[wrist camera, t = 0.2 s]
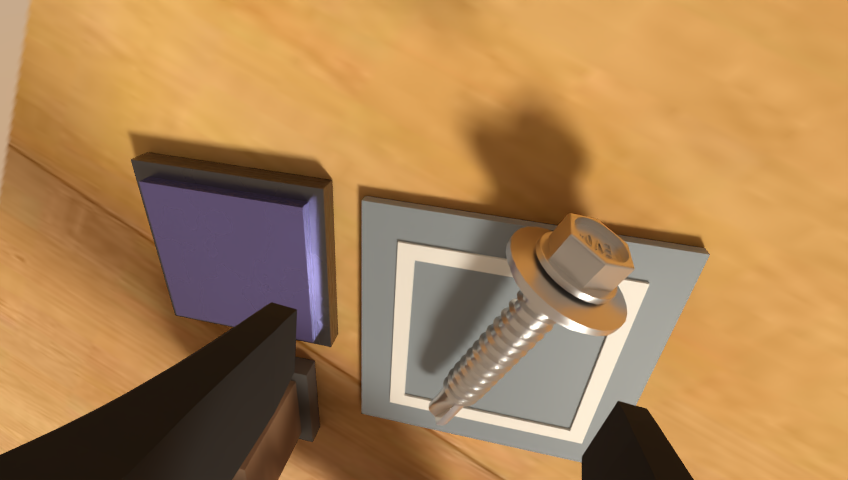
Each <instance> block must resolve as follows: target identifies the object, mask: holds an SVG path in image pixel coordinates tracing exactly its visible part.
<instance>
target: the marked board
mask: <svg viewBox="0 0 848 480" xmlns="http://www.w3.org/2000/svg"><path fill="white" fill-rule="evenodd" d="M557 226H558V225H552V224H545V223H539V222H532V221H526V220H519V219H513V218H507V217H500V216H494V215H487V214H481V213H474V212H468V211H461V210H455V209H448V208H442V207H435V206H429V205H422V204H416V203H409V202H403V201H396V200H390V199H383V198H377V197H370V196H365V197H364V198H363V199H362V414H366V415H370V416H375V417H379V418H384V419H388V420H393V421H397V422H402V423H406V424H411V425H415V426H420V427H424V428H429V429H433V430H438V431H442V432H447V433H451V434H456V435H460V436H465V437H469V438H474V439H479V440H483V441H488V442H492V443H497V444H501V445H506V446H510V447H515V448H519V449H524V450H528V451H533V452H537V453H542V454H546V455H551V456H555V457H560V458H564V459H569V460H573V461H578V462H582V455H583V454H584V452H585V451H586V449H587V448H588V446H589V445H590V443H591V441H592V440H593V438H594V437H595V435H596V434H597V432H598V431H599V429H600V428H601V426H602V425H603V423H604V422H605V420H606V418H607V417H608V415H609V414H610V412H611V411H612V409H613V408H614V406H615V405H616V403H617V402H618V401H621V402H625V403H628V404H632V405H635V406H636V404H637V402H638V400H639V398H640V396H641V394H642V392H643V390H644V388H645V386H646V384H647V381H648V379H649V377H650V375H651V373H652V371H653V369H654V367H655V365H656V363H657V361H658V359H659V357H660V355H661V353H662V351H663V349H664V347H665V345H666V343H667V341H668V339H669V337H670V335H671V333H672V331H673V329H674V327H675V325H676V322H677V320H678V318H679V316H680V314H681V312H682V310H683V308H684V306H685V304H686V302H687V300H688V298H689V296H690V294H691V292H692V290H693V288H694V286H695V284H696V282H697V280H698V278H699V276H700V274H701V272H702V270H703V268H704V266H705V263H706V261H707V259H708V257H709V255H710V254H709V253H708V251H707V250H706V249H705V248H701V247H695V246H688V245H682V244H675V243H669V242H662V241H656V240H649V239H643V238H636V237H630V236H623V235H617V234H616V235H617V236H619V237H620V238H621V239H622V240H623V241H624V242H626V243H627V244H628V247H629V250H630V254H631V257H632V261H633V264H634V268H635V269H634V271H633V272H632V273H631V274H629V275H628V276H627V277H626V278H625V279H624V280H623V281H622V282H621V283H620V284H619V285H618V286H619V288H620V290H621V292H622V294H623V296H624V299H625V302H626V305H627V318H626V321H625V323H624V324H623V325H622V326H621V327H620V328H619V329H618V330H617V331H616V332H614V333H612V334H610V335H607V336H593V335H588V334H584V333H580V332H577V331H573V330H570V329H568V328H566V327H564V326H562V325H559V324H557V323H556V324H554V326H553V328H552V330H551V331H549V332H547V333H545V335H544V337H543V339H541V340H540V341H538V342H536V345H535V346H534V347H533V348H532V349H530V350H528V352H527V354H526V355H525V356H524V357H522V358H520V360H519V362H518V363H517V364H515V365H513V367H512V369H511V370H510V371H509V372H507V373H505V375H504V377H503V378H501V379H500V380H498V382H497V383H496V384H495V385H494V386H493V387H491V389H490V390H489V391H488V392H487V393H485V395H484V396H483V397H482V398H481V399H480V400H477V402H476V403H475V404H473V405H471V406H464V407H463V408H462V409H461V410H460V411H459V412H458V413H457V414H456V415H455V416H454V417H453V418H452V419H451V420H450V421H449V422H448V423H447V424H445V425H442V426H441V425H436V422H435V416H433V415H432V414H431V412H430V411H429V403H430V402H431V401H432V399H433V398H434V397H435V396H436V395H437V394H438V393H439V392H440V390H441V389H442V388H443V382H444V379H445V378H446V377H447V376H448V373H449V371H450V370H451V369H452V368H454V366H455V364H456V363H457V362H458V361H460V359H461V357H462V356H463V355H465V354H466V352H467V350H468V349H469V348H471V347H473V343H474V342H475V341H476V340H479V337H480V335H481V334H482V333H484V332H486V329H487V327H488V326H489V325H491V324H493V321H494V319H495V318H496V317H497V316H501V311H502V310H503V309H504V308H506V307H509V302H510V300H512V299H515V298H517V293H518V291H519V290H520V288H519V287H518V285H517V284H516V282H515V280H514V278H513V276H512V274H511V271H510V267H509V265H508V263H507V257H506V246H507V243H508V241H509V239H510V238H511V236H512V235H513V234H514V233H515V232H516V231H517V230H519V229H520V228H524V227H540V228H544V229H548V230H551V231H554V230H555V228H556V227H557Z"/></svg>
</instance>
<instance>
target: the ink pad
mask: <svg viewBox="0 0 848 480" xmlns="http://www.w3.org/2000/svg"><path fill="white" fill-rule="evenodd" d="M131 162H132V166H133V169H134V173H135V176H136V180H137V183H138V187H139V190H140V194H141V197H142V201H143V204H144V208H145V211H146V215H147V218H148V221H149V225H150V228H151V232H152V235H153V239H154V242H155V246H156V249H157V253H158V256H159V260H160V263H161V267H162V270H163V274H164V277H165V281H166V284H167V288H168V291H169V295H170V298H171V302H172V305H173V309H174V312H175V315H176V316H181V317H186V318H191V319H196V320H201V321H206V322H211V323H216V324H221V325H225V326H230V327H235V326H236V325H238V324H239V323H241V322H242V321H244V320H245V319H247V318H248V317H250V316H251V315H253V314H254V313H255V312H257V311H258V310H260V309H261V308H263V307H264V306H266V305H268V304H269V303H271V302H273V303H276V304H280V305H283V306H287V307H290V308H294V309H297V326H296V340H299V341H304V342H309V343H314V344H319V345H324V346H329V347H331V346H332V344H333V342H334V341H335V339H336V337H337V335H338V320H337V293H336V266H335V240H334V213H333V186H332V180H327V179H321V178H314V177H308V176H301V175H294V174H288V173H281V172H274V171H268V170H261V169H254V168H248V167H241V166H235V165H228V164H221V163H215V162H208V161H201V160H195V159H188V158H182V157H175V156H168V155H162V154H155V153H148V152H147V153H145V154H142V155H140V156H138V157H135V158H133V159H131Z"/></svg>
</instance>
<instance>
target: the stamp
mask: <svg viewBox="0 0 848 480" xmlns="http://www.w3.org/2000/svg"><path fill="white" fill-rule="evenodd" d="M319 428H320V422H319V409H318V396H317V383H316V370H315V361H313V360H309V359H304V358H299V357H295V372H294V374H293V376H292V378H291V380H290V382H289V384H288V387H287V389H286V391H285V393H284V395H283V397H282V399H281V401H280V403H279V405H278V407H277V409H276V411H275V413H274V415H273V416H272V418H271V419H270V421H269V423H268V424H267V426H266V427H265V429H264V431H263V432H262V434H261V435H260V437H259V438H258V440H257V442H256V443H255V445H254V446H253V448H252V449H251V451H250V453H249V454H248V456H247V457H246V459H245V460H244V462H243V464H242V465H241V467H240V468H239V470H238V471H237V473H236V474H235V476H234V478H233V479H232V480H278V479H279V477H280V475H281V473H282V471H283V469H284V467H285V465H286V463H287V461H288V459H289V457H290V455H291V453H292V451H293V449H294V447H295V445H296V443H297V441H298V439H302V440H307V441H311V442H313V441H314V438H315V436H316V434H317V432H318V430H319Z"/></svg>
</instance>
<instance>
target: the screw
mask: <svg viewBox="0 0 848 480" xmlns="http://www.w3.org/2000/svg"><path fill="white" fill-rule="evenodd" d="M506 257H507V263H508V265H509V267H510V271H511V274H512V276H513V278H514V280H515V282H516V284H517V285H518V287H519V288H520V290H519V291H518V293H517V298H515V299H512V300H510V302H509V307H506V308H504V309H503V310H502V311H501V316H497V317H496V318H495V319H494V321H493V324H491V325H489V326H488V327H487V329H486V332H484V333H482V334H481V335H480V337H479V340H476V341H475V342H474V343H473V347H471V348H469V349H468V350H467V352H466V354H465V355H463V356H462V357H461V359H460V361H458V362H457V363H456V364H455V366H454V368H452V369H451V370H450V371H449V373H448V376H447V377H446V378H445V379H444V382H443V388H442V389H441V390H440V392H439V393H438V394H437V395H436V396H435V397H434V398H433V399H432V401H431V402H430V403H429V411H430V412H431V414H432V415H433V416H435V422H436V425H441V426H442V425H445V424H447V423H448V422H449V421H450V420H451V419H452V418H453V417H454V416H455V415H456V414H457V413H458V412H459V411H460V410H461V409H462V408H463V407H464V406H471V405H473V404H475V403H476V402H477V400H480V399H481V398H482V397H483V396H484V395H485V393H487V392H488V391H489V390H490V389H491V387H493V386H494V385H495V384H496V383H497V382H498V380H500V379H501V378H503V377H504V375H505V373H507V372H509V371H510V370H511V369H512V367H513V365H515V364H517V363H518V362H519V360H520V358H522V357H524V356H525V355H526V354H527V352H528V350H530V349H532V348H533V347H534V346H535V345H536V342H538V341H540V340H541V339H543V337H544V335H545V333H547V332H549V331H551V330H552V328H553V326H554V324H556V323H557V324H559V325H562V326H564V327H566V328H568V329H570V330H573V331H577V332H580V333H584V334H588V335H593V336H607V335H610V334H612V333H614V332H616V331H617V330H618V329H619V328H620V327H621V326H622V325H623V324H624V323H625V321H626V318H627V305H626V302H625V299H624V296H623V294H622V292H621V290H620V288H619V286H618V285H619V284H620V283H621V282H622V281H623V280H624V279H625V278H626V277H627V276H628V275H629V274H631V273H632V272H633V271H634V269H635V268H634V264H633V261H632V257H631V254H630V250H629V247H628V244H627V243H626V242H624V241H623V240H622V239H621V238H620V237H619V236H617V235H616V234H615V233H614V232H613V231H611V230H610V229H609V228H608V227H607V226H605V225H604V224H603V223H602V222H601V221H599V220H598V219H595V218H591V217H586V216H582V215H577V214H573V213H568V214H567V215H566V216H565V218H564V219H563V220H562V221H561V222H560V224H559V225H558V226H557V227H556V228H555V230H554V231H551V230H548V229H544V228H540V227H524V228H520V229H519V230H517V231H516V232H515V233H514V234H513V235H512V236H511V238H510V239H509V241H508V243H507V246H506Z"/></svg>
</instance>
